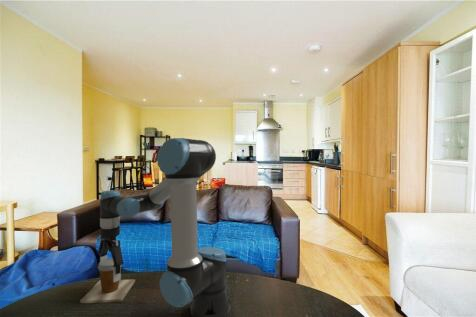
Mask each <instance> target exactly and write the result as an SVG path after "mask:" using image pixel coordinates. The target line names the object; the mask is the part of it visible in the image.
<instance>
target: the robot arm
mask: <svg viewBox="0 0 476 317" xmlns="http://www.w3.org/2000/svg"><path fill="white" fill-rule="evenodd" d="M156 158H157V160H156V162H157V167H158V168H159V170H160V171H161V172H162V173H164V175H165V178H164V179H163V180H161V182H159V183H158V184H157V185H156V186H155V187H153V188H152V189H151V190H150V191H148V192H147V193H145V194H137V195H132V196H121V192H120V191H119V190H118V189H117V190H115V189H113V190H104V191H102V192H100V199H99V213H100V214H99V215H100V218H99V227H100V230H99V232H100V233H99V236H100V242H99V246H98V251H97V254H98V256H99V263H100V262H101V261H102V260H105V259H108V253H109V252H110V256H111V258H112V259H113V262H114V265H113V282H116V281H119V280H122V279H121V278H122V275H121V273H122V271H121V270H122V266H123V265H124V258H123V253H122V248H121V240H120V239H119V240H117V237H118V236H119V235H120V234H121V232H120V231H121V227H120V224H121V222H120V220H121V217H124V218H133V217H135V216H136V215H138V214H140V213H144V212H149V211H155V210H158V209H161V208H162V207H164V204H165V201H167V200H168V199H170V231H171V234H170V237H171V238H170V240H171V241H170V242H171V256H170V257H169V258H168V259H167V261H166V271H165V272H163V274H162V275H161V276H160V278H159V288H160V289H159V290H160V292H161V295H162V297H163V298H164V299H165V301H166V302H167V303H168V304H169V305H170V306H173V307H174V308H182V307H184V306H186V305H188V304H190V311H189V312H190V315H191V316H192V317H227V316H228V315H229V314H230V312H231V300H230V298H229V295H228V291H227V285H226V284H227V254H226V252H225V251H224V250H223V249H222V248H219V247H214V246H213V247H212V246H204V247H199V246H198V245H199V244H198V209H197V208H198V206H197V205H198V203H197V193H198V192H197V183H198V181H200V180H201V177H202V176H203V175H205V174H207V173H208V171H210V170H211V169H213V167H214V165H215V163H216V159H217V155H216V151H215V148H214V147H213V145H211V143H209V142H208V141H205V140H202V139H201V140H200V139H192V138H184V137H173V138H172V137H171V138H169V139H167V140H165V141H164V142H163V143H162V145H160V147H159V149H158V153H157V156H156ZM121 265H122V266H121Z"/></svg>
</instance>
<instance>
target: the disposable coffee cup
mask: <svg viewBox="0 0 476 317" xmlns="http://www.w3.org/2000/svg"><path fill="white" fill-rule="evenodd" d="M113 265H114V262H113V259H112V257H107V259H105V260H102V261H101V262H100V261H99V262H98V266H97V269H98V272H99V279H100V280H99V281H101V288H102V292H103V293H111V292H114V291H116V290H117V289H118V286H119V281H116V282H113ZM122 266H123V265H121V267H122Z"/></svg>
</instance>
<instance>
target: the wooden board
mask: <svg viewBox="0 0 476 317" xmlns="http://www.w3.org/2000/svg"><path fill="white" fill-rule="evenodd" d="M135 283H136V279H135V278H133V279H132V278H131V279H121V280H119V286H118V289H117V290H116V291H114V292H111V293H103V292H102V288H101V281H100V280H98V281H97V283H96V284H95V285H94V286H93V287H92V288H91V289H90V290H89V291H88V292H87V293H86V294H85V295H84V296H83V297H82V298H81V299H80V301H79V304H98V303H99V304H101V303H121V302H123V300H124V299H125V298H126V296H127V294H128V293H129V292H130V290H131V289H132V287H133V285H134V284H135Z"/></svg>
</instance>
